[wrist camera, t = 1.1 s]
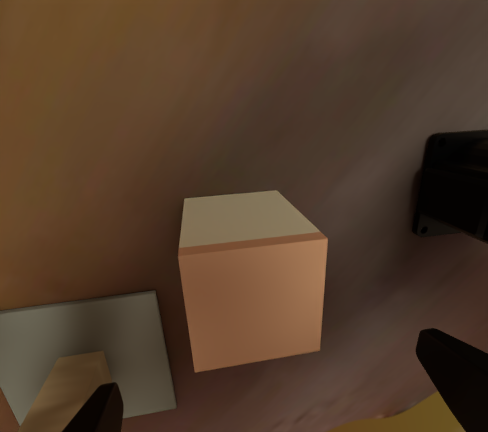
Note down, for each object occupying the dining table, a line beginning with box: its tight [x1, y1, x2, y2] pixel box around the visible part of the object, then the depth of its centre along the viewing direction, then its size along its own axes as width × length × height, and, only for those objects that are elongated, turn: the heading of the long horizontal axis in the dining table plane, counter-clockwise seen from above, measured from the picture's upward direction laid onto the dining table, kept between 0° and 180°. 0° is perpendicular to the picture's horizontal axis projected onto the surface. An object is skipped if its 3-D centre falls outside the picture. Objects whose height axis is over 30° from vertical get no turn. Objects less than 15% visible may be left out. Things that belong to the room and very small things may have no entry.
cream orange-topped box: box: [178, 190, 328, 373], centre depth 13 cm, size 5×5×7 cm
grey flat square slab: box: [0, 290, 177, 432], centre depth 15 cm, size 10×10×7 cm
